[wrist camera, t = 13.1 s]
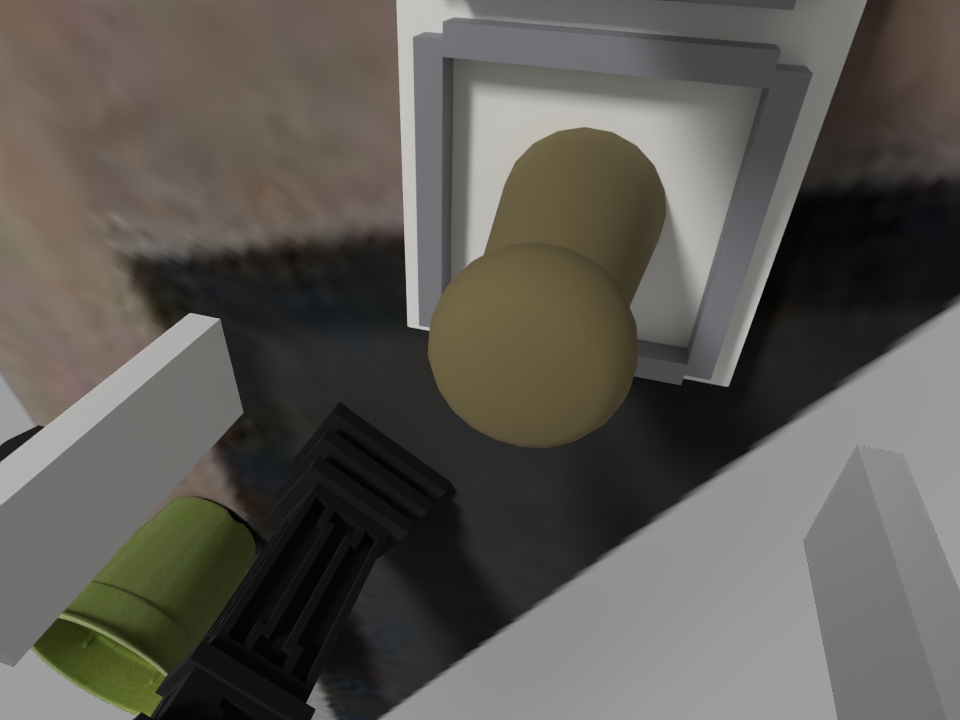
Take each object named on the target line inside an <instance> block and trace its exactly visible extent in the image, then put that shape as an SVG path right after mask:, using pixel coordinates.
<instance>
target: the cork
mask: <svg viewBox="0 0 960 720" xmlns="http://www.w3.org/2000/svg"><path fill="white" fill-rule="evenodd" d="M665 218H666V206H665V190H664V187H663V185H662V182H661V180H660V177H659V175H658V173H657V170H656V168H655V166H654V164H653V163H652V162H651V161H650V160H649V159H648V158H647V157H646V155H645V154H644V153H643V152H642V151H641V150H640V149H639V148H638V146H637V145H635V144H633V143H631V142H629V141H628V140H626V139H624V138H622V137H620V136H619V135H617V134H615V133H613V132H609V131H604V130H598V129H593V128H587V127H582V128H575V129H568V130H561V131H557V132H555V133H553V134H551V135H549V136H547V137H545V138H543V139H541V140H539V141H537V142H535V143H533V144H532V145H531V146H530V147H529V148H528V149H527V150H526V151H525V152H524V154H523V155H522V156H521V157H520V158H519V159H518V160H517V161H516V162H515V164H514V166H513V168H512V170H511V172H510V174H509V176H508V178H507V180H506V182H505V185H504V188H503V191H502V195H501V198H500V201H499V205H498V208H497V212H496V215H495V218H494V222H493V225H492V228H491V232H490V235H489V238H488V242H487V245H486V248H485V252H484V255H483V256H481V257H479V258H477V259H476V260H474V261H472V262H471V263H470V264H469V265H468V266H467V267H465V268H464V269H463V270H462V271H461V272H460V273H459V274H458V275H457V276H456V277H455V278H454V279H453V280H452V281H451V282H450V283H449V285H448V286H447V287H446V289H445V290H444V292H443V294H442V296H441V298H440V300H439V302H438V304H437V306H436V309H435V311H434V313H433V315H432V318H431V324H430V329H429V345H428V357H429V361H430V364H431V367H432V371H433V374H434V378H435V381H436V383H437V386H438V389H439V391H440V392H441V394H442V395H443V397H444V398H445V400H446V401H447V403H448V404H449V406H450V407H451V409H452V410H453V411H454V412H455V413H456V414H457V415H458V416H460V417H461V418H462V419H463V420H464V421H465V422H466V423H468V424H469V425H470V426H471V427H472V428H474V429H476V430H478V431H480V432H481V433H483V434H485V435H487V436H489V437H491V438H493V439H495V440H497V441H501V442H505V443H509V444H512V445H516V446H520V447H538V448H549V447H554V446H558V445H562V444H567V443H571V442H574V441H576V440H578V439H579V438H581V437H583V436H585V435H587V434H588V433H590V432H592V431H593V430H595V429H597V428H599V427H600V426H602V425H604V424H605V423H606V422H607V421H608V420H609V418H610V417H611V416H612V415H613V414H614V413H615V411H616V410H617V409H618V408H619V407H620V405H621V404H622V403H623V401H624V399H625V398H626V396H627V394H628V393H629V390H630V387H631V384H632V381H633V378H634V374H635V371H636V368H637V364H638V339H637V327H636V321H635V319H634V316H633V314H632V312H631V309H630V305H631V303H632V300H633V298H634V296H635V293H636V291H637V289H638V287H639V284H640V282H641V280H642V277H643V275H644V273H645V271H646V268H647V266H648V264H649V261H650V259H651V257H652V254H653V252H654V250H655V248H656V245H657V243H658V241H659V238H660V234H661V231H662V228H663V224H664V221H665Z"/></svg>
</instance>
